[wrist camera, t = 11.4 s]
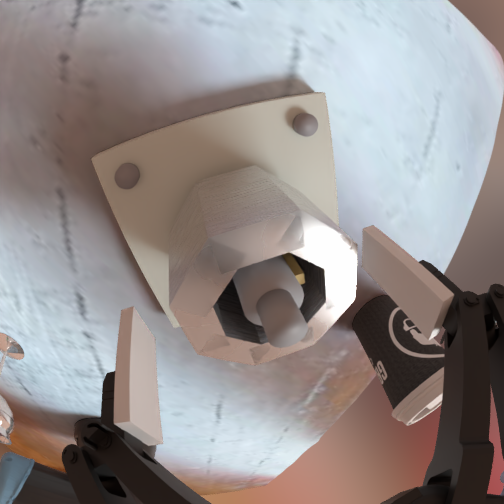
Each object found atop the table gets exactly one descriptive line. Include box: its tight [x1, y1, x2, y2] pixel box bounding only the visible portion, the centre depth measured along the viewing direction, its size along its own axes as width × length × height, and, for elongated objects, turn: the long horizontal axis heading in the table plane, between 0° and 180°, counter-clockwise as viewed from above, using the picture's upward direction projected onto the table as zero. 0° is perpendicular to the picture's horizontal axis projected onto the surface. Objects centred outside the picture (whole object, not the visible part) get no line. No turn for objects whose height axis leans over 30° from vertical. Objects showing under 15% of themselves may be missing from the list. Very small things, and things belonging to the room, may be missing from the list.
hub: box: [169, 165, 357, 365], centre depth 16 cm, size 9×9×7 cm
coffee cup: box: [353, 295, 444, 425], centre depth 27 cm, size 10×10×15 cm
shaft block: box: [91, 92, 339, 348], centre depth 16 cm, size 16×16×12 cm
